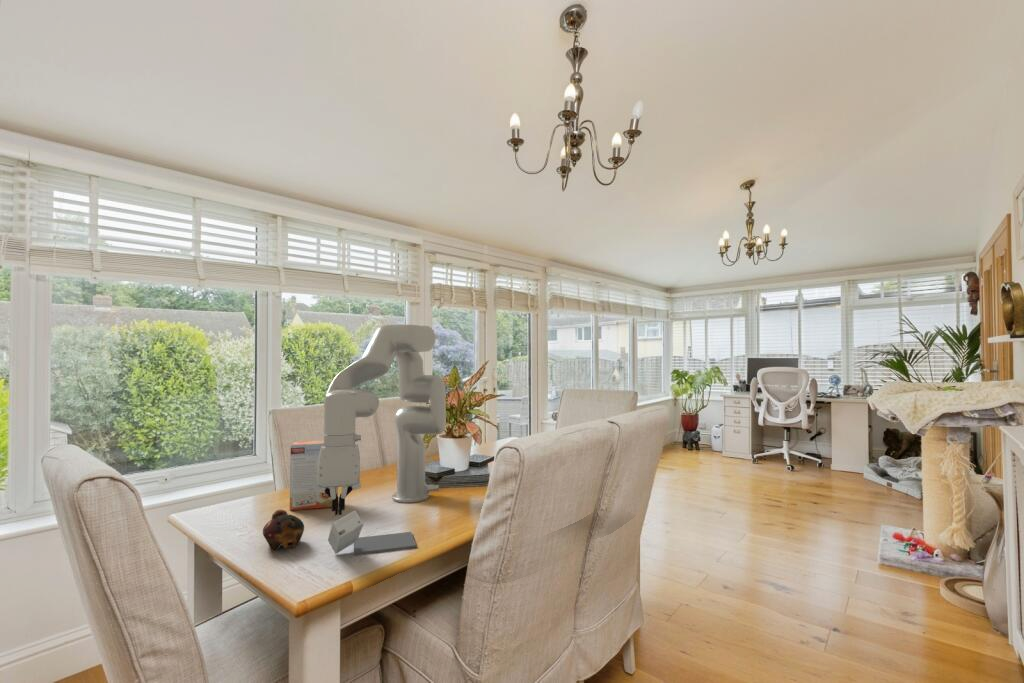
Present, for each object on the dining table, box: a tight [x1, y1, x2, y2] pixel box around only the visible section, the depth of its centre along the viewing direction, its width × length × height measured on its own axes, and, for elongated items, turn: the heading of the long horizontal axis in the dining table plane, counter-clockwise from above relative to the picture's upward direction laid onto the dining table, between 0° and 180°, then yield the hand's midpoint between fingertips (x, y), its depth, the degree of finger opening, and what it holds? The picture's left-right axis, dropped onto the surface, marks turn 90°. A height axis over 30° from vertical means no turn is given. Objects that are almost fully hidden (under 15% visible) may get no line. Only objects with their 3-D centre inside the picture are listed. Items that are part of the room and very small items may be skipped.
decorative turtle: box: [262, 509, 305, 551], centre depth 122 cm, size 10×15×8 cm, turn 43°
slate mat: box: [353, 531, 417, 556], centre depth 123 cm, size 15×10×1 cm, turn 109°
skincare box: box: [327, 509, 364, 555], centre depth 115 cm, size 6×4×12 cm
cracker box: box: [289, 440, 339, 511], centre depth 154 cm, size 14×6×21 cm, turn 104°
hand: (338, 513), depth 120 cm, fingers closed
